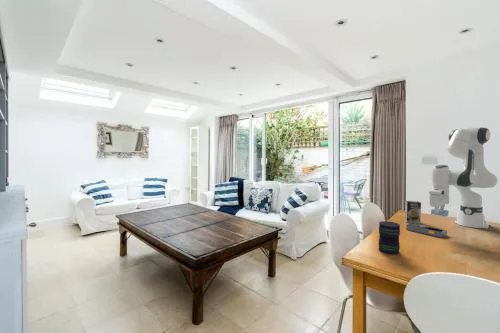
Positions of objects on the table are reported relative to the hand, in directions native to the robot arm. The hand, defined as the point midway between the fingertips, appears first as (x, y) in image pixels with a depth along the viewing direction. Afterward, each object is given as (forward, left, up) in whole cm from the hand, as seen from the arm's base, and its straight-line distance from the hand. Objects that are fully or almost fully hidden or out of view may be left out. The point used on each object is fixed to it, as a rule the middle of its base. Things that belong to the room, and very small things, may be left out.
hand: (439, 212), depth 155 cm
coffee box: (-20, -24, -15) cm, 35 cm away
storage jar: (+53, -3, -15) cm, 55 cm away
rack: (0, -7, -15) cm, 17 cm away
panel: (0, 0, -2) cm, 2 cm away
